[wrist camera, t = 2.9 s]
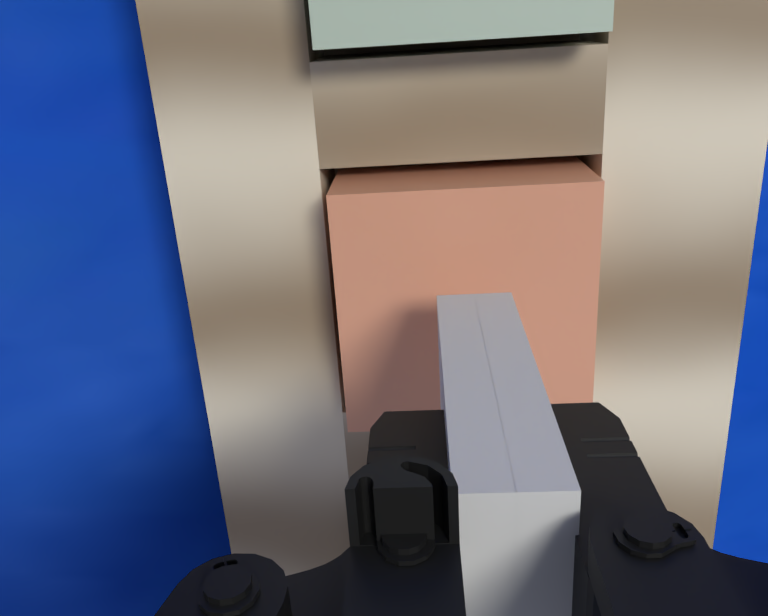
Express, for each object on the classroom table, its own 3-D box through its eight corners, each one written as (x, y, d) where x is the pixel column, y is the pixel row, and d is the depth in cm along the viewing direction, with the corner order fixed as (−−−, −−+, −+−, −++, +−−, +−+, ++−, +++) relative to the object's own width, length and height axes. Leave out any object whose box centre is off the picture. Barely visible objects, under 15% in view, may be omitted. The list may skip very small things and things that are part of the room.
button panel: (141, -310, 17) (58, -409, 13) (751, -366, 16) (861, -490, 12) (278, 608, 27) (255, 708, 23) (653, 601, 27) (695, 703, 23)
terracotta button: (339, 168, 19) (326, 195, 16) (575, 155, 18) (604, 180, 15) (356, 376, 21) (347, 432, 18) (567, 368, 20) (591, 424, 18)
